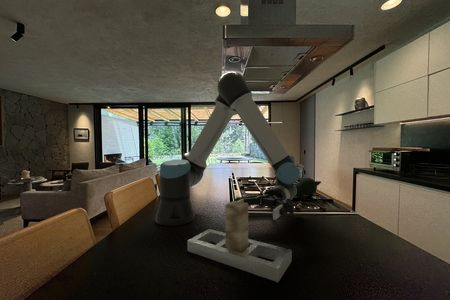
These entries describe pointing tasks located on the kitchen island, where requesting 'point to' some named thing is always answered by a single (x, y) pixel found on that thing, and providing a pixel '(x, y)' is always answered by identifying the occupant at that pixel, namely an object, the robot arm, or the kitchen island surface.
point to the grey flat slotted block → (243, 254)
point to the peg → (236, 226)
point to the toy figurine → (306, 187)
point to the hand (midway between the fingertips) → (252, 211)
